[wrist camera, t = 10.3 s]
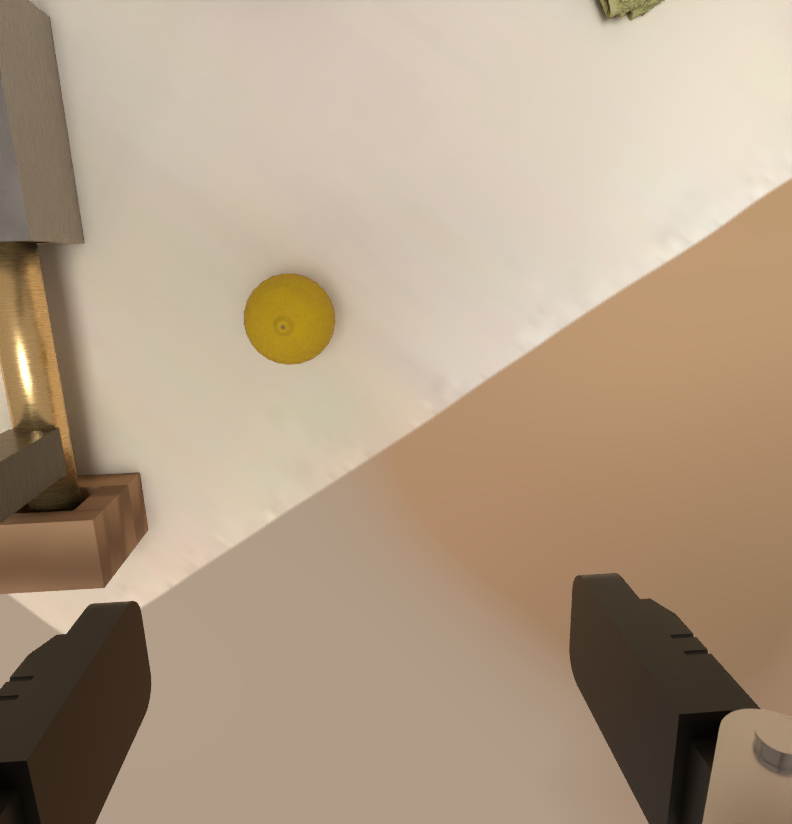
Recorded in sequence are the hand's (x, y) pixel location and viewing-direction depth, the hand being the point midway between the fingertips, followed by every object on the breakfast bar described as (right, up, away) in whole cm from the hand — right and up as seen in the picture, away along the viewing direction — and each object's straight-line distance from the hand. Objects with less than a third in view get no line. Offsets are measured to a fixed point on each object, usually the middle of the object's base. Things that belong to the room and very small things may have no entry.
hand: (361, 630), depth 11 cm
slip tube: (-22, +7, +27) cm, 36 cm away
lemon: (-6, +11, +30) cm, 33 cm away
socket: (-22, -3, +32) cm, 39 cm away
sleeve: (-22, +21, +26) cm, 41 cm away
